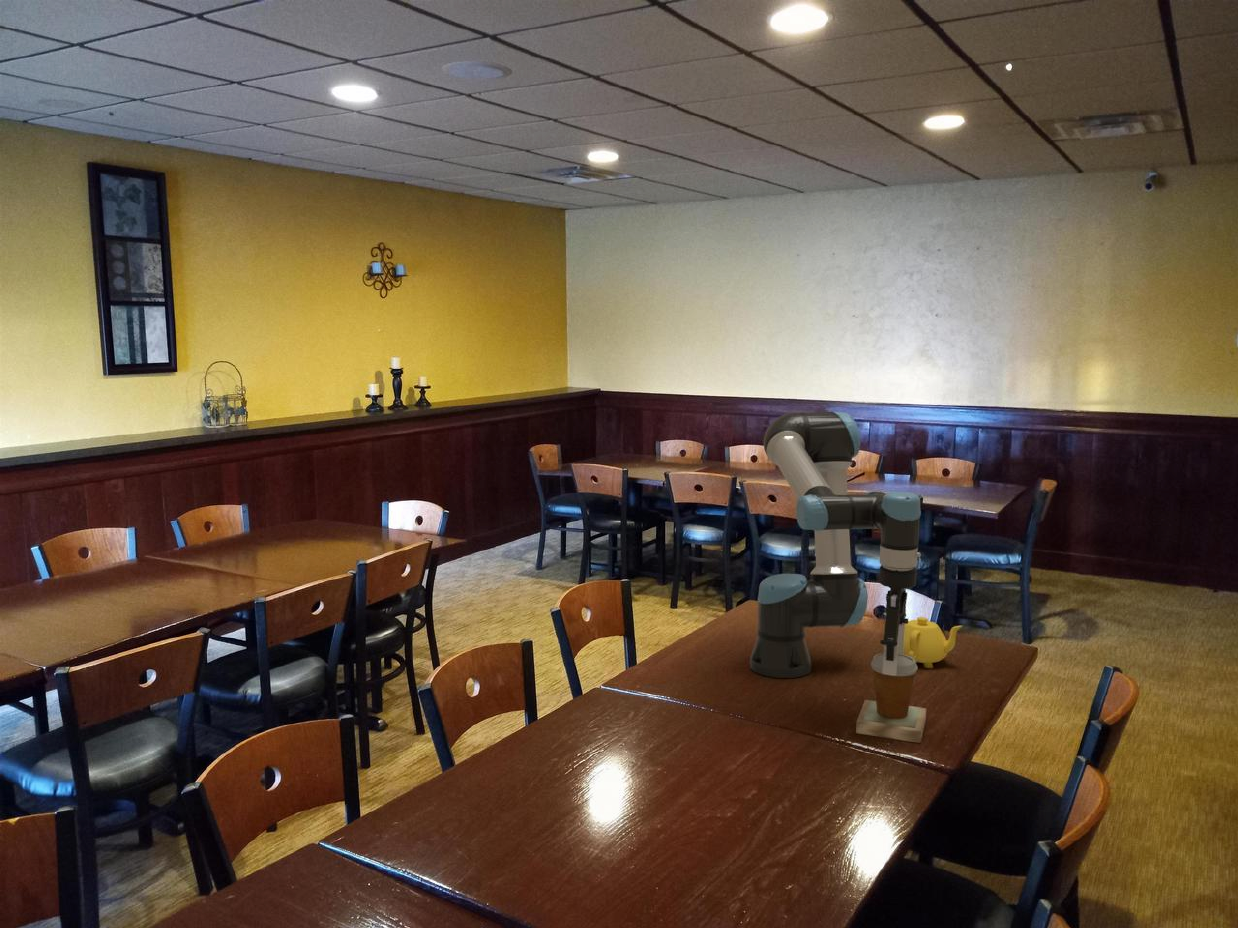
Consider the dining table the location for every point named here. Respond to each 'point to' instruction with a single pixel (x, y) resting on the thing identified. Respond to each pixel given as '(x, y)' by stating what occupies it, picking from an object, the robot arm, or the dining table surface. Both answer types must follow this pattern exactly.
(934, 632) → the teapot
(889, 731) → the trivet
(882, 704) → the disposable coffee cup
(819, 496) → the robot arm
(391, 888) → the dining table surface
